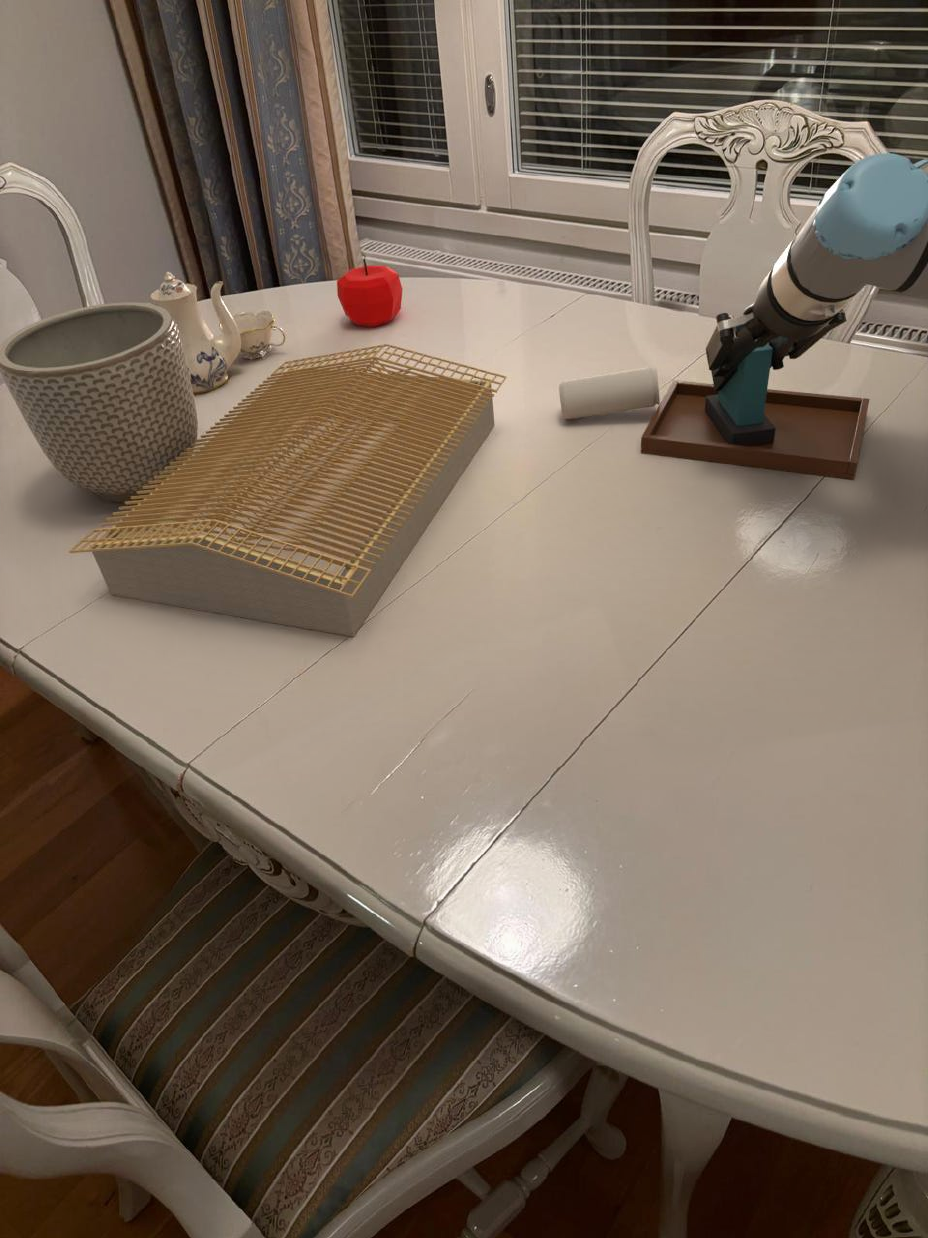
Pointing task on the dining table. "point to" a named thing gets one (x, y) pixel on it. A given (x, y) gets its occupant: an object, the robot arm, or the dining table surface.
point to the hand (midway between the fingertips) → (731, 377)
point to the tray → (805, 425)
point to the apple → (370, 294)
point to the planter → (104, 394)
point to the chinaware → (202, 348)
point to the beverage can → (609, 393)
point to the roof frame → (262, 581)
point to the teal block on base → (744, 402)
